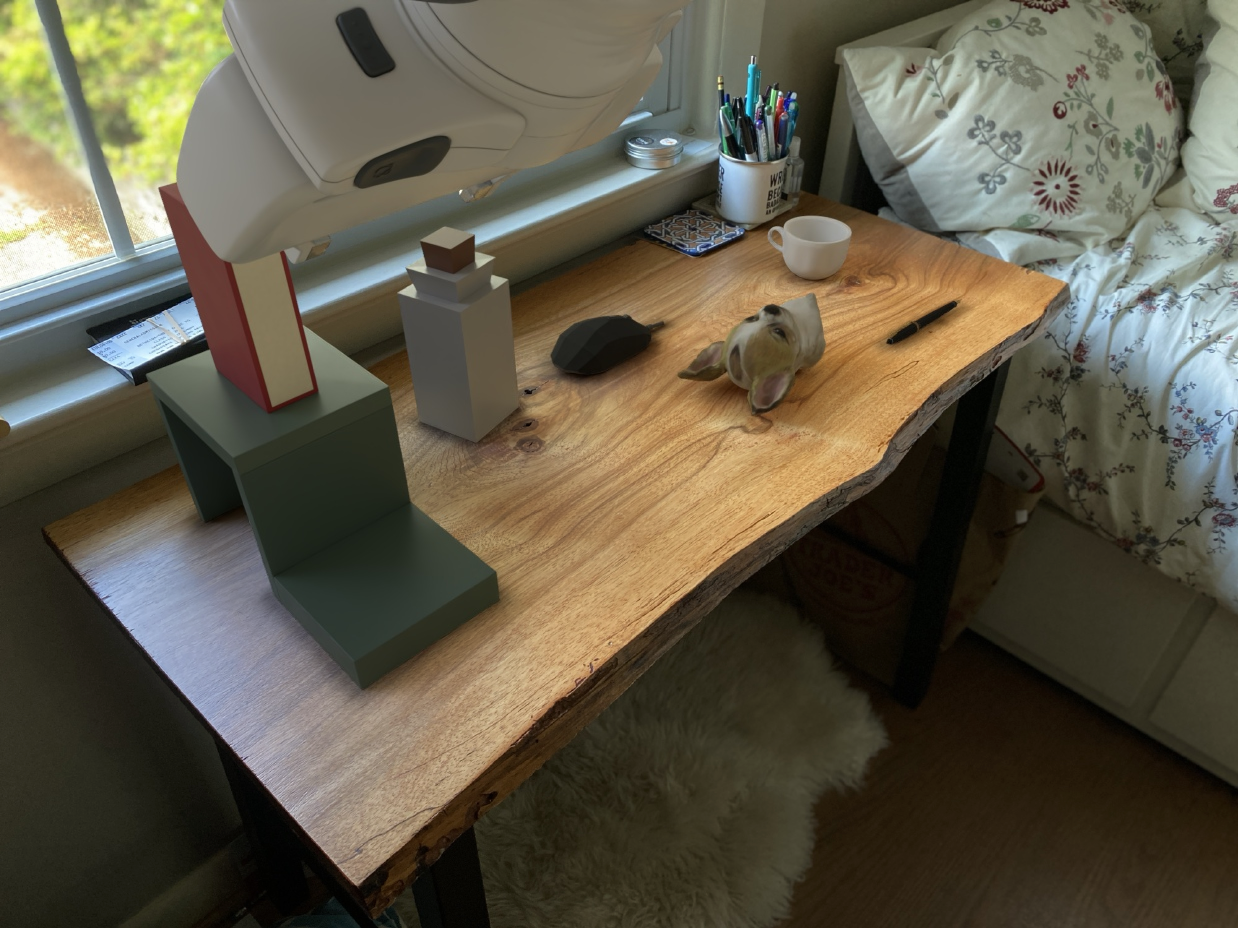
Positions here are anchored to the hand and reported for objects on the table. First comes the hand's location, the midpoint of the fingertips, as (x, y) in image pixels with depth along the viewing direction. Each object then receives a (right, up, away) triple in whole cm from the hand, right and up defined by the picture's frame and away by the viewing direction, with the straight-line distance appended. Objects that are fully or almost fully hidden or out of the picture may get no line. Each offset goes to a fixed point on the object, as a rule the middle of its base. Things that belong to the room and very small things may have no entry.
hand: (388, 214), depth 44 cm
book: (-15, -6, +24) cm, 29 cm away
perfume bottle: (-3, -7, +45) cm, 46 cm away
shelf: (-11, -19, +30) cm, 37 cm away
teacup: (+33, +12, +68) cm, 77 cm away
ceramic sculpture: (+25, -4, +49) cm, 55 cm away
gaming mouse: (+10, 0, +54) cm, 55 cm away
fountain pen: (+44, +3, +58) cm, 73 cm away
